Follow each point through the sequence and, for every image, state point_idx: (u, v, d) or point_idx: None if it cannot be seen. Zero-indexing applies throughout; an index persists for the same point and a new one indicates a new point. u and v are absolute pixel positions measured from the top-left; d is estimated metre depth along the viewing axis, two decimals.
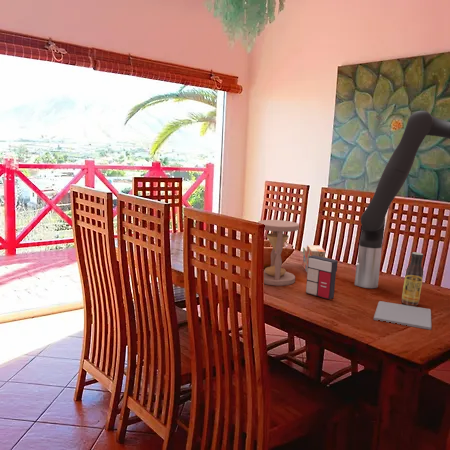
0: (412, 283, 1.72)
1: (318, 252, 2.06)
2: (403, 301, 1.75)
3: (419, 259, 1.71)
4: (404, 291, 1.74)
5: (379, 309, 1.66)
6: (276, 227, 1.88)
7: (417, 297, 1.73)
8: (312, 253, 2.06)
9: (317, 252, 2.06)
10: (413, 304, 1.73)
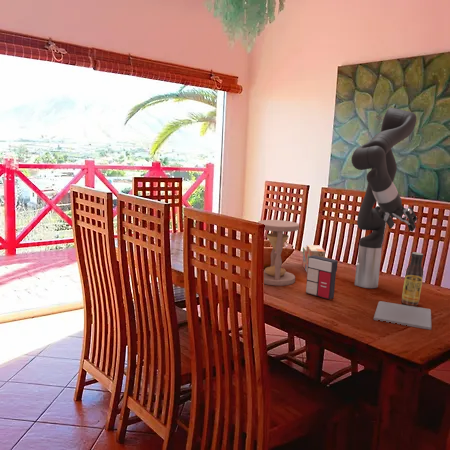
0: (412, 283, 1.72)
1: (318, 252, 2.06)
2: (403, 301, 1.75)
3: (419, 259, 1.71)
4: (404, 291, 1.74)
5: (379, 309, 1.66)
6: (276, 227, 1.88)
7: (417, 297, 1.73)
8: (312, 253, 2.06)
9: (317, 252, 2.06)
10: (413, 304, 1.73)
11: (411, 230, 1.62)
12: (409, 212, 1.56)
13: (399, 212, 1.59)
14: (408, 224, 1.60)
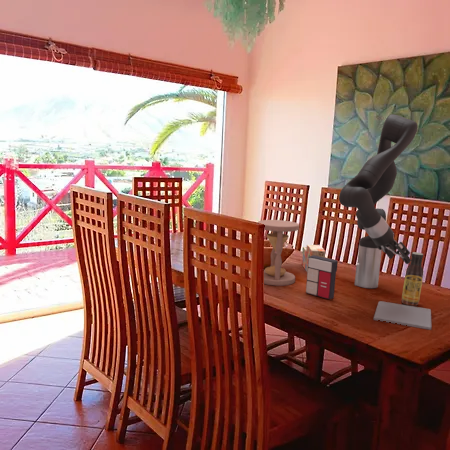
0: (412, 283, 1.72)
1: (318, 252, 2.07)
2: (403, 301, 1.75)
3: (419, 259, 1.71)
4: (404, 291, 1.74)
5: (379, 309, 1.66)
6: (276, 227, 1.88)
7: (417, 297, 1.73)
8: (312, 253, 2.07)
9: (317, 252, 2.07)
10: (413, 304, 1.73)
11: (406, 263, 1.66)
12: (399, 247, 1.60)
13: (391, 246, 1.64)
14: (402, 257, 1.64)
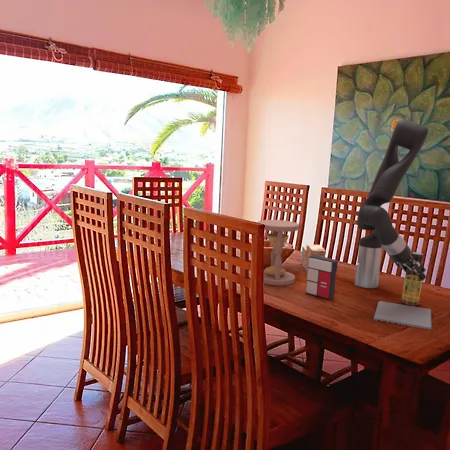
0: (412, 283, 1.72)
1: (319, 251, 2.08)
2: (403, 301, 1.75)
3: (419, 259, 1.71)
4: (404, 291, 1.74)
5: (379, 309, 1.66)
6: (276, 227, 1.88)
7: (417, 297, 1.73)
8: (313, 252, 2.08)
9: (318, 251, 2.08)
10: (413, 304, 1.73)
11: (421, 279, 1.71)
12: (417, 265, 1.65)
13: (408, 263, 1.68)
14: (417, 274, 1.70)
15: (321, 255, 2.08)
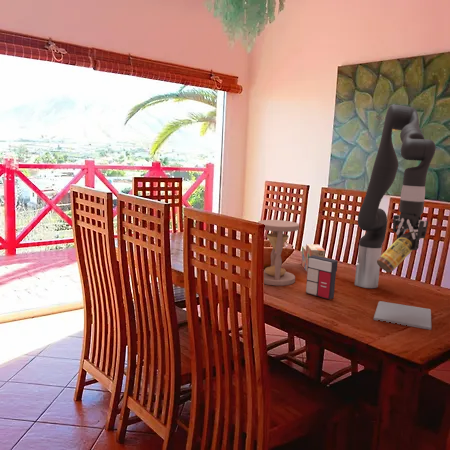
0: (402, 246, 1.55)
1: (318, 251, 2.08)
2: (380, 259, 1.56)
3: None
4: (387, 250, 1.56)
5: (379, 309, 1.66)
6: (276, 227, 1.88)
7: (396, 262, 1.54)
8: (312, 252, 2.08)
9: (317, 251, 2.08)
10: (389, 265, 1.54)
11: (412, 247, 1.55)
12: (423, 223, 1.51)
13: (414, 220, 1.54)
14: (413, 238, 1.54)
15: (320, 255, 2.08)
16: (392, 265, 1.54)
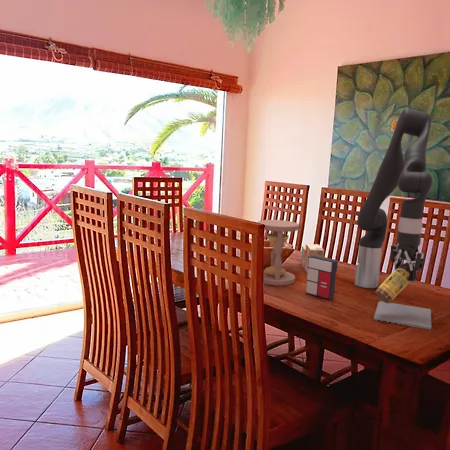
0: (400, 277, 1.57)
1: (317, 251, 2.09)
2: (378, 290, 1.57)
3: None
4: (386, 281, 1.58)
5: (379, 309, 1.66)
6: (276, 227, 1.88)
7: (395, 293, 1.56)
8: (311, 252, 2.09)
9: (316, 251, 2.09)
10: (387, 297, 1.55)
11: (410, 279, 1.56)
12: (421, 256, 1.52)
13: (411, 252, 1.55)
14: (411, 270, 1.56)
15: (319, 254, 2.09)
16: (390, 296, 1.56)
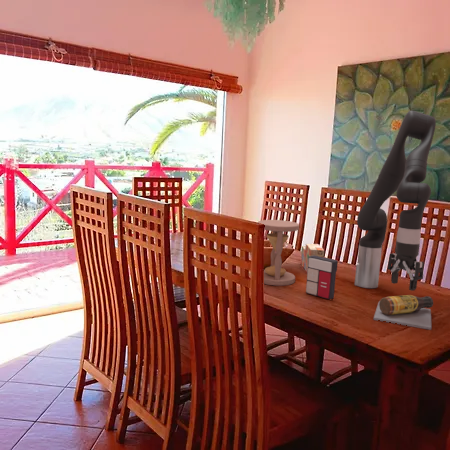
0: (409, 299, 1.61)
1: (317, 251, 2.09)
2: (386, 297, 1.60)
3: (429, 302, 1.64)
4: (395, 296, 1.62)
5: (379, 309, 1.66)
6: (276, 227, 1.88)
7: (398, 308, 1.58)
8: (311, 252, 2.09)
9: (316, 251, 2.09)
10: (391, 306, 1.57)
11: (410, 288, 1.56)
12: (419, 264, 1.53)
13: (410, 262, 1.56)
14: (411, 279, 1.55)
15: (319, 254, 2.09)
16: (394, 307, 1.58)
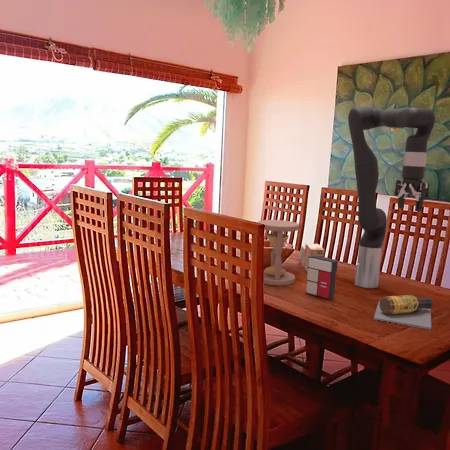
0: (409, 299, 1.61)
1: (317, 250, 2.10)
2: (386, 297, 1.60)
3: (429, 303, 1.64)
4: (395, 296, 1.62)
5: (379, 309, 1.66)
6: (276, 227, 1.88)
7: (399, 308, 1.58)
8: (311, 251, 2.10)
9: (316, 250, 2.10)
10: (391, 305, 1.58)
11: (416, 209, 1.64)
12: (425, 185, 1.61)
13: (416, 184, 1.64)
14: (417, 200, 1.63)
15: (320, 254, 2.10)
16: (394, 307, 1.58)
